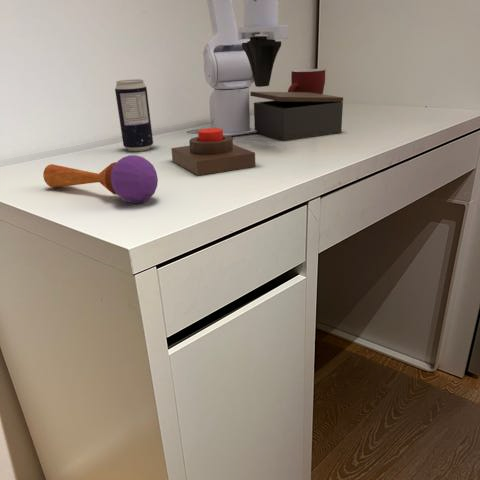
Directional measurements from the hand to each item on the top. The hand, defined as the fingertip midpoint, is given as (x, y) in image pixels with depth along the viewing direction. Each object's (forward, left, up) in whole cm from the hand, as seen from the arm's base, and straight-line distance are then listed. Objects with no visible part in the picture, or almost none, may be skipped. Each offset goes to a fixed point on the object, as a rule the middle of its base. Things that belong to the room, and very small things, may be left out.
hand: (262, 86), depth 90 cm
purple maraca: (+15, -34, -11) cm, 39 cm away
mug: (-27, +26, -11) cm, 39 cm away
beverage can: (-13, -20, -11) cm, 26 cm away
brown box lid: (-9, +12, -4) cm, 16 cm away
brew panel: (+7, -13, -10) cm, 18 cm away
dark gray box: (-9, +13, -10) cm, 19 cm away
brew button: (+7, -13, -7) cm, 17 cm away
